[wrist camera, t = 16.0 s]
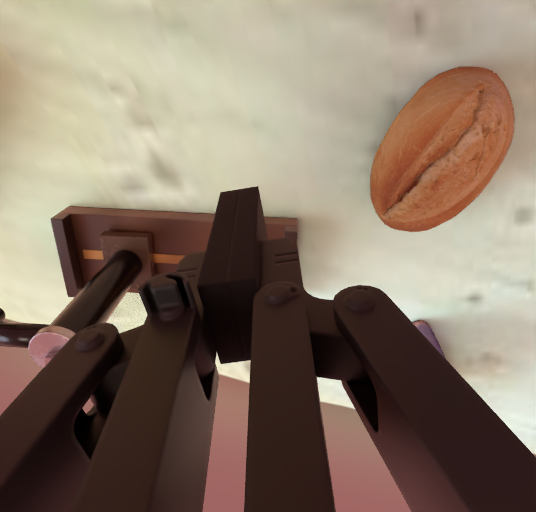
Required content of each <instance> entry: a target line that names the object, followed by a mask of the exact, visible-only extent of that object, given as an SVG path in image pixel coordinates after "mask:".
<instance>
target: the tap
mask: <svg viewBox="0 0 536 512" xmlns="http://www.w3.org/2000/svg"><path fill="white" fill-rule="evenodd" d="M100 241H101V247H102V253H103V259H104V265H103V266H102V268H101V269H100V270H99V271H98V272H97V273H96V274H95V275H94V277H93V278H92V279H91V280H90V281H89V282H88V283H87V284H86V285H85V287H84V288H83V289H82V290H81V291H80V292H79V293H78V294H77V295H76V297H75V298H74V299H73V300H72V301H71V302H70V303H69V304H68V305H67V307H66V308H65V309H64V310H63V311H62V312H61V313H60V314H59V315H58V317H57V318H56V319H55V320H54V321H53V322H52V323H51V324H50V325H45V324H30V323H14V322H2V321H3V320H4V319H5V313H4V311H3V310H2V309H1V308H0V346H7V347H22V348H29V352H30V355H31V357H32V358H33V360H34V361H35V362H36V363H37V364H38V365H39V366H40V367H42V368H44V367H45V366H46V365H47V364H48V362H49V361H50V360H51V359H52V358H53V357H54V356H55V355H56V354H57V353H58V351H59V350H60V349H61V348H62V347H63V346H64V345H65V344H66V343H67V342H68V340H69V339H70V338H72V337H73V336H74V335H75V334H76V333H77V332H79V331H81V330H83V329H84V328H86V327H88V326H92V325H94V324H99V323H106V321H107V320H108V318H109V317H110V315H111V314H112V313H113V311H114V310H115V308H116V307H117V305H118V304H119V303H120V301H121V300H122V298H123V297H124V296H125V294H126V293H127V291H128V290H129V289H138V288H139V287H140V286H141V285H142V283H144V282H145V281H146V280H148V279H149V278H151V277H154V276H155V267H154V257H153V248H152V238H151V233H134V232H116V231H104V232H103V233H102V234H101V235H100Z"/></svg>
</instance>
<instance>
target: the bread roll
mask: <svg viewBox="0 0 536 512" xmlns="http://www.w3.org/2000/svg"><path fill="white" fill-rule="evenodd" d="M513 132H514V109H513V105H512V101H511V98H510V95H509V92H508V90H507V88H506V86H505V84H504V83H503V81H502V80H501V79H500V78H499V76H498V75H497V74H496V73H494V72H493V71H491V70H489V69H485V68H480V67H458V68H454V69H451V70H448V71H446V72H443V73H440V74H438V75H437V76H435V77H434V78H432V79H431V80H429V81H428V82H427V83H425V84H424V85H423V86H422V87H421V88H420V89H419V90H418V91H417V93H416V94H415V95H414V96H413V97H412V99H411V100H410V101H409V102H408V103H407V104H406V105H405V107H404V108H403V109H402V110H401V112H400V113H399V114H398V116H397V117H396V119H395V120H394V122H393V123H392V125H391V127H390V128H389V130H388V132H387V133H386V135H385V137H384V139H383V141H382V143H381V144H380V146H379V149H378V151H377V153H376V155H375V157H374V161H373V165H372V169H371V177H370V192H371V200H372V203H373V206H374V208H375V211H376V213H377V215H378V216H379V217H380V219H381V220H382V221H383V222H384V224H386V225H387V226H389V227H391V228H393V229H397V230H402V231H409V232H419V231H425V230H429V229H431V228H433V227H436V226H438V225H440V224H442V223H444V222H446V221H448V220H450V219H452V218H453V217H454V216H456V215H457V214H459V213H460V212H461V211H462V210H463V209H464V208H466V207H467V206H468V205H469V204H470V203H471V202H472V201H473V200H474V199H475V198H476V197H477V196H478V195H479V194H480V193H481V192H482V190H483V189H484V188H485V187H486V185H487V184H488V183H489V182H490V180H491V179H492V177H493V175H494V174H495V172H496V171H497V169H498V168H499V166H500V164H501V163H502V161H503V159H504V157H505V155H506V153H507V151H508V149H509V147H510V144H511V141H512V138H513Z"/></svg>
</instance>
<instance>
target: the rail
mask: <svg viewBox="0 0 536 512" xmlns="http://www.w3.org/2000/svg"><path fill="white" fill-rule="evenodd" d="M214 217H215V214H201V213H182V212H164V211H145V210H126V209H107V208H88V207H70V206H69V207H67V208H66V209H64V210H63V211H61V212H60V213H58V214H57V215H56V216H54V217H53V218H51V223H52V227H53V232H54V236H55V241H56V245H57V250H58V254H59V259H60V263H61V268H62V272H63V276H64V281H65V285H66V290H67V294H68V297H76V295H77V294H78V293H79V292H80V291H81V290H82V289H83V288H84V287H85V285H86V284H87V283H88V282H89V281H90V280H91V279H92V278H93V277H94V275H95V274H96V273H97V272H98V271H99V270H100V269H101V268H102V266H103V265H104V259H103V253H102V247H101V241H100V235H101V234H102V233H103V232H104V231H116V232H134V233H151V238H152V248H153V257H154V267H155V276H156V275H158V274H162V273H166V272H176V268H177V266H178V263H179V261H180V260H181V259H182V258H183V257H184V256H185V255H186V254H188V253H194V252H201V251H206V248H207V245H208V241H209V237H210V233H211V229H212V225H213V221H214ZM264 220H265V226H266V231H267V236H268V240H272V239H279V238H285V237H290V238H291V239H292V240H293V241H295V242H296V243H297V219H295V218H276V217H264ZM127 292H133V293H139V291H138V289H129V290H128V291H127Z"/></svg>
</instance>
